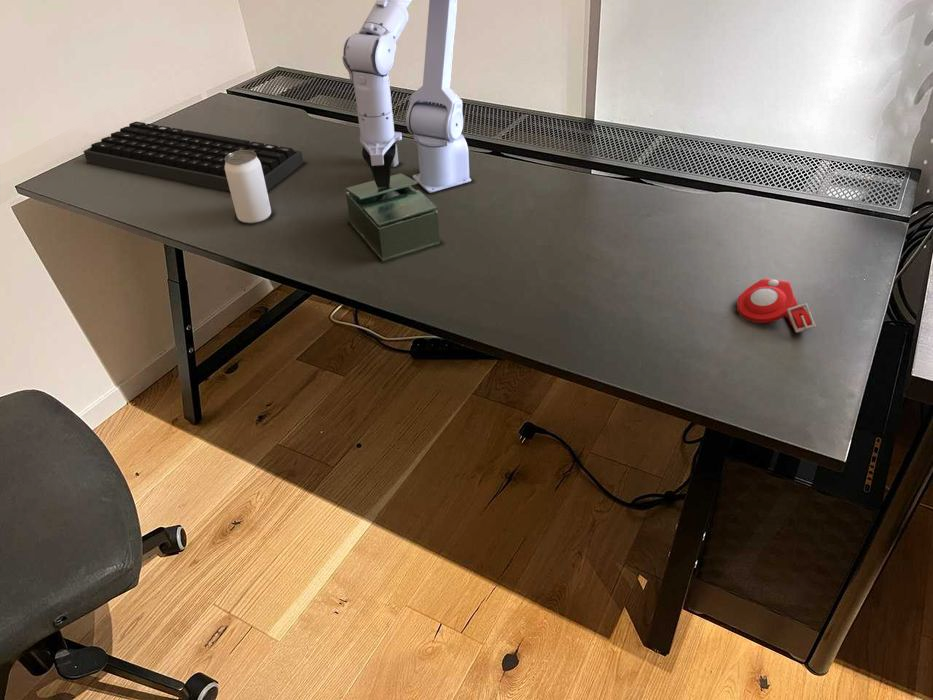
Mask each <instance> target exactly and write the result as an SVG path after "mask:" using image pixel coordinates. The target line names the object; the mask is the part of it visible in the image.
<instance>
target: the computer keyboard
mask: <svg viewBox="0 0 933 700" xmlns="http://www.w3.org/2000/svg"><path fill="white" fill-rule="evenodd" d="M90 145H91V146H90V147H89V148H87V149H84V150H83V154H84V157H85V159H86V161H87V164H92V165H96V166H102V167H108V168H110V169H111V168H112V169H117V170H122V171H126V172H131V173H136V174H142V175H147V176H151V177H157V178H161V179H166V180H172V181H175V182H180V183H185V184H191V185H196V186H201V187H206V188H210V189H215V190H221V191H226V192H230V188H229V185H228V181H227V177H226V172H225V162H226V161H225V157H226V156H227V155H228V154H230V153H232V152H235V151H240V150H250V151H253V152H255V153H256V155H257V158H258V159H259V160H260V163H261V166H262V171H263V175H264V180H265V184H266V189H267V192H268V191H270V189H272V188H273V187H274V186H276V185H277V184H278V183H280V182H281V181H282V180H284V179H285V178H286V177H288V176H290V174H291V173H293V172H294V171H296V170H297V169H298V168H299V167H301V166H303V164H304V158H303V153H302V151H301V150H295V149H294V148H292V147H287V146H278V145H275V144H270V143H266V144H265V143H263V142H258V141H250V140H246V139H242V138H241V139H240V138H235V137H229V136H223V135H217V134H211V133H205V132H200V131H194V130H187V129H185V130H184V129H182V128H177V127H172V128H171V127H170V126H165V125H158V124H155V123H154V124H153V123H146V122H142V121H133V122H130V123H129V124H128V125H127V126H123V127H121V128H119V131H115V132H112V133H110V136H109V135H108V136H106V137H103V138H100V141H97V142H95V143H91V144H90Z"/></svg>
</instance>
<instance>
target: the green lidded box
mask: <svg viewBox="0 0 933 700" xmlns="http://www.w3.org/2000/svg"><path fill="white" fill-rule="evenodd" d="M393 191H396V192H398V193H400V194H401V195H398V196H395V197H391V198H388V199H384V200H382V198H383V196H384V195H385V194H386V193H388V192H386V193H383V194H379V195H375V196H372V197H368V198H365V199H361V200H360V199H358V198H357V197H355V196H354V195H352V194H351V193H349V192H348V191H346V192H345V197H346V203H347V210H348V217H349V223H350V225H351V226H352V227H353V228H354V230H355V231H356V232H357V233H358V234H359V236H360V237H361V238H362V239H363V241H364V242H365V243H366V244H367V245H368V246H369V248H370V249H371V250H372V251H373V252H374V253H375V254H376V255H377V257H378V258H379V259H380V260H381V261H382V262H383V263H384V262H386V261H390V260H393V259H396V258H400V257H403V256H406V255H409V254H412V253H413V254H414V253H416V252H419V251H422V250H426V249H428V248H432V247H435V246H438V245H440V244H441V239H440V225H439V223H440V222H439V211H438V206H437V205H436V204H434V202H432V201H431V200H430V199H429V198H428V197H427V196H426V195H425V194H424V193H423V192H422V191H420V190H419V189H417V190H416V189H415V188H414V187H413V186H412V185H411V186H408V187H404V188H401V189H397V190H393ZM390 192H391V191H390ZM412 216H414V217H412ZM408 217H412V218H409V219H405V218H408ZM402 219H405V220H402ZM398 220H402V221H398ZM395 221H398V222H395Z"/></svg>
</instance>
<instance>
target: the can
mask: <svg viewBox="0 0 933 700" xmlns="http://www.w3.org/2000/svg"><path fill="white" fill-rule="evenodd" d="M225 161H226V162H225V172H226V177H227V181H228V185H229V188H230V191H229V192H230V196H231V200H232V203H233V208H234V211H235V214H236V219H237V220H238V221H240V222H241V223H244V224H257V223H261V222H264V221H266V220H268V219H269V218H270V216H271V214H272V207H271V203H270V199H269V194H268V193H269V192H268V191H267V189H266V184H265V180H264V175H263V171H262V166H261V163H260V160H259V159H258V158H257V155H256V153H255V152H253V151H250V150H240V151H235V152H232V153H230V154H228V155H227V156H226V157H225Z"/></svg>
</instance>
